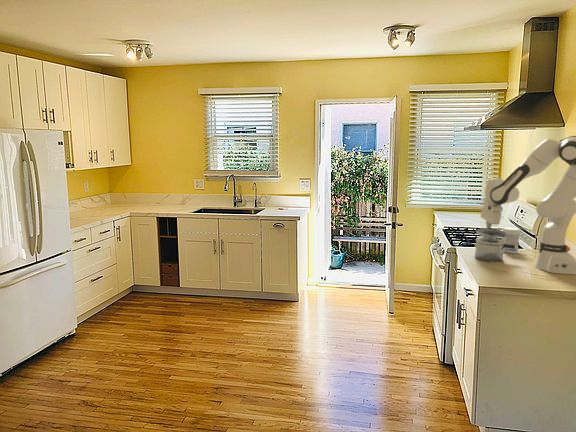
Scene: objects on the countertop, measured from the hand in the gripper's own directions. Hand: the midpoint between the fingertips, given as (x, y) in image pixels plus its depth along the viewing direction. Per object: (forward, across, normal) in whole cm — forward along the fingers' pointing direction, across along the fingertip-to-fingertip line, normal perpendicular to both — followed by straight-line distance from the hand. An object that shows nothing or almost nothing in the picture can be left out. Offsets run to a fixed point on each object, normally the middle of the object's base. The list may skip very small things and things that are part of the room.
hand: (488, 228), depth 272 cm
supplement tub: (+17, -15, +20) cm, 31 cm away
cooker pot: (+17, +5, +3) cm, 18 cm away
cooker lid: (+3, +3, +1) cm, 4 cm away
